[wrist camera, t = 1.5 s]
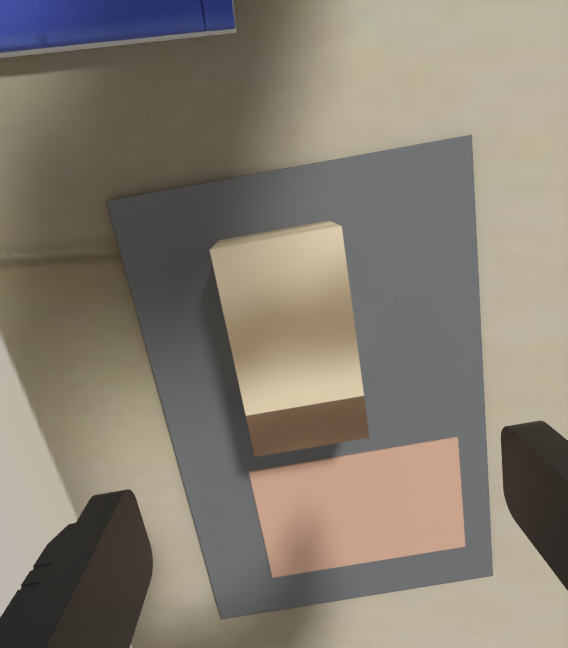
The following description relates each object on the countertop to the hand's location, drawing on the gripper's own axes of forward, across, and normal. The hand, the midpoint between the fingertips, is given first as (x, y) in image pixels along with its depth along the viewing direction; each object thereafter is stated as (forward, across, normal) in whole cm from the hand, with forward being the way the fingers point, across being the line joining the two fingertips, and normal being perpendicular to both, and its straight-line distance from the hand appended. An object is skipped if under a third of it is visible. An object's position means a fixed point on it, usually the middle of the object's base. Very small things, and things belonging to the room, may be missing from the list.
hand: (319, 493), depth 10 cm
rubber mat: (+13, -1, +5) cm, 14 cm away
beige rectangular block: (+12, 0, 0) cm, 12 cm away
